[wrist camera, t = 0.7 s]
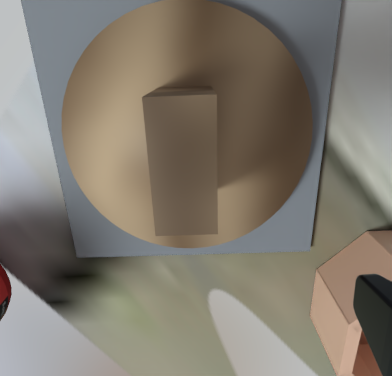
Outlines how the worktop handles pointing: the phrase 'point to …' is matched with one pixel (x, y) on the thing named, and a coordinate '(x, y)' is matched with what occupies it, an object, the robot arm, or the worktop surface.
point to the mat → (123, 3)
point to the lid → (187, 123)
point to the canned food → (4, 291)
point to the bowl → (349, 302)
